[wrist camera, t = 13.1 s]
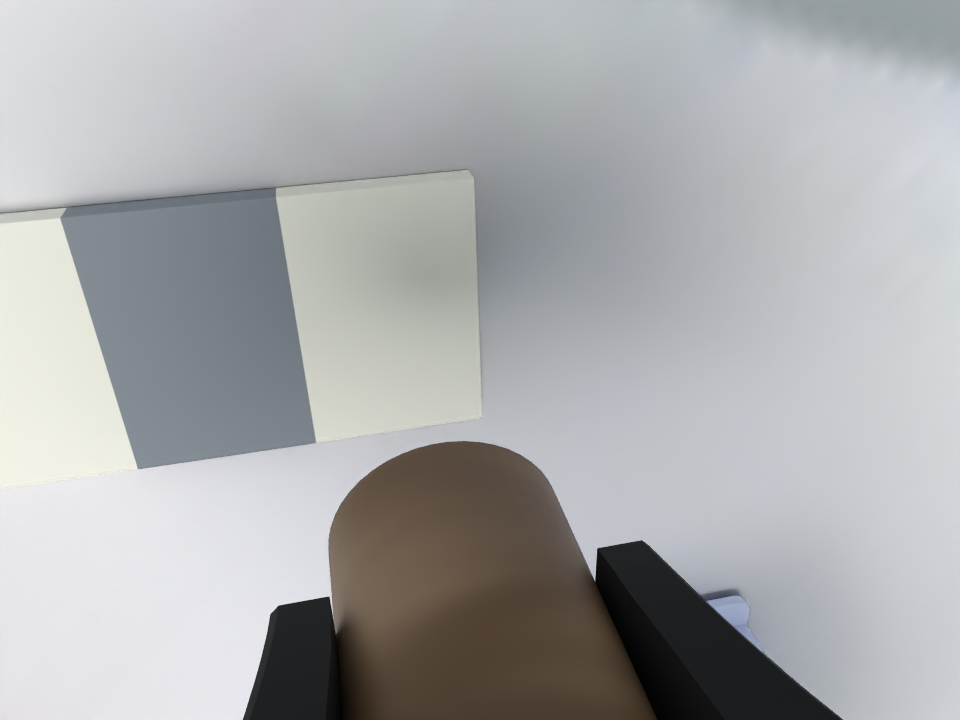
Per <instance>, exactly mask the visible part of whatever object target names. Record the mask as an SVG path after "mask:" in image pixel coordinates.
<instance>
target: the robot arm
mask: <svg viewBox="0 0 960 720" xmlns="http://www.w3.org/2000/svg"><path fill="white" fill-rule="evenodd" d="M595 583H596V585H597V587H598V589H599V592H600V594H601V596H602V598H603V601H604V603H605V605H606V607H607V609H608V612H609V614H610V616H611V618H612V620H613V623H614V625H615V627H616V629H617V631H618V634H619V636H620V638H621V640H622V642H623V645H624V647H625V649H626V651H627V653H628V656H629V658H630V660H631V662H632V664H633V667H634V669H635V671H636V673H637V675H638V678H639V680H640V682H641V684H642V687H643V689H644V691H645V693H646V695H647V698H648V700H649V702H650V704H651V706H652V709H653V711H654V713H655V715H656V717H657V720H843V719H841V718H840V717H839V716H838V715H837V714H835V713H834V712H833V711H832V710H830V709H829V708H828V707H827V706H825V705H824V704H823V703H822V702H820V701H819V700H818V699H817V698H815V697H814V696H813V695H812V694H810V693H809V692H808V691H807V690H806V689H804V688H803V687H802V686H801V685H800V684H799V683H797V682H796V681H795V680H794V679H793V678H791V677H790V676H789V675H788V674H787V673H785V672H784V671H783V670H782V669H781V668H780V667H779V666H778V665H776V664H775V663H774V662H773V661H772V660H771V659H770V658H768V657H767V655H766V654H765V652H764V651H763V649H762V648H761V646H760V644H759V643H758V641H757V640H756V638H755V637H754V635H753V634H752V632H751V630H750V629H749V627H748V626H747V622H748V617H749V612H750V608H749V606H748V604H747V603H746V601H745V600H744V599H743V597H740V596H729V597H724V598H719V599H714V600H709V601H706V600H705V599H703V598H702V597H701V596H700V595H699V594H698V593H697V592H696V591H695V590H694V589H693V588H692V587H691V586H690V585H689V584H688V583H687V582H686V581H685V580H684V579H683V578H682V577H681V576H680V575H679V574H677V573H676V572H675V571H674V570H673V569H672V568H671V567H670V566H669V565H668V564H667V563H666V562H665V561H664V560H663V559H662V558H661V557H660V556H659V555H658V554H657V553H656V552H655V551H654V550H653V549H652V548H651V547H650V546H649V545H647V544H646V543H645V542H644V541H642V540H641V541H636V542H630V543H625V544H619V545H613V546H608V547H602V548H597V564H596V580H595ZM243 720H342V707H341V693H340V680H339V668H338V655H337V642H336V632H335V626H334V621H333V615H332V609H331V604H330V598H329V597H324V598H319V599H313V600H307V601H302V602H296V603H291V604H285V605H280V606H278V607H277V608H276V609H275V610H274V611H273V612H272V613H271V615H270V620H269V626H268V632H267V636H266V641H265V645H264V649H263V653H262V657H261V661H260V665H259V668H258V672H257V676H256V679H255V683H254V686H253V689H252V692H251V695H250V699H249V702H248V705H247V708H246V712H245V715H244V718H243Z"/></svg>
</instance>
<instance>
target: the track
mask: <svg viewBox="0 0 960 720" xmlns="http://www.w3.org/2000/svg"><path fill="white" fill-rule="evenodd" d="M481 418H482V397H481V367H480V337H479V307H478V276H477V246H476V216H475V185H474V177H473V176H472V174H471V173H470V171H469V170H460V171H450V172H439V173H428V174H418V175H407V176H397V177H386V178H375V179H365V180H354V181H343V182H333V183H322V184H312V185H301V186H290V187H280V188H269V189H259V190H248V191H237V192H227V193H216V194H205V195H195V196H184V197H174V198H163V199H152V200H142V201H131V202H121V203H110V204H99V205H89V206H78V207H67V208H57V209H46V210H36V211H25V212H14V213H4V214H0V490H1V489H8V488H15V487H21V486H28V485H35V484H42V483H48V482H55V481H62V480H69V479H75V478H82V477H89V476H96V475H102V474H109V473H116V472H123V471H130V470H136V469H143V468H150V467H157V466H163V465H170V464H177V463H184V462H190V461H197V460H204V459H211V458H218V457H224V456H231V455H238V454H245V453H251V452H258V451H265V450H272V449H278V448H285V447H292V446H299V445H306V444H312V443H319V442H326V441H333V440H339V439H346V438H353V437H360V436H366V435H373V434H380V433H387V432H393V431H400V430H407V429H414V428H421V427H427V426H434V425H441V424H448V423H454V422H461V421H468V420H475V419H481Z"/></svg>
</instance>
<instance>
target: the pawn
mask: <svg viewBox="0 0 960 720" xmlns="http://www.w3.org/2000/svg"><path fill="white" fill-rule="evenodd" d="M329 564H330V577H331V590H332V603H333V616H334V626H335V632H336V642H337V655H338V668H339V680H340V693H341V707H342V720H657V717H656V715H655V713H654V711H653V709H652V706H651V704H650V702H649V700H648V698H647V695H646V693H645V691H644V689H643V687H642V684H641V682H640V680H639V678H638V675H637V673H636V671H635V669H634V667H633V664H632V662H631V660H630V658H629V656H628V653H627V651H626V649H625V647H624V645H623V642H622V640H621V638H620V636H619V634H618V631H617V629H616V627H615V625H614V623H613V620H612V618H611V616H610V614H609V612H608V609H607V607H606V605H605V603H604V601H603V598H602V596H601V594H600V592H599V589H598V587H597V585H596V583H595V581H594V578H593V576H592V574H591V572H590V570H589V567H588V565H587V563H586V561H585V559H584V556H583V554H582V552H581V550H580V548H579V545H578V543H577V541H576V539H575V537H574V534H573V532H572V530H571V528H570V526H569V523H568V521H567V519H566V517H565V515H564V512H563V510H562V508H561V506H560V503H559V501H558V499H557V497H556V495H555V492H554V490H553V488H552V486H551V485H550V483H549V481H548V479H547V478H546V477H545V475H544V474H543V473H542V472H541V470H540V469H538V468H537V467H536V466H535V465H534V464H533V463H532V462H530V461H529V460H527V459H526V458H524V457H523V456H521V455H519V454H517V453H515V452H513V451H511V450H509V449H506V448H503V447H499V446H496V445H492V444H487V443H481V442H468V441H459V442H445V443H439V444H432V445H428V446H424V447H421V448H417V449H414V450H411V451H409V452H406V453H403V454H401V455H399V456H397V457H395V458H393V459H391V460H389V461H387V462H385V463H383V464H382V465H380V466H379V467H377V468H376V469H374V470H373V471H371V472H370V473H369V474H368V475H367V476H365V477H364V478H363V479H362V480H360V481H359V482H358V484H357V485H356V486H355V487H354V488H353V489H352V490H351V491H350V492H349V493H348V495H347V496H346V498H345V499H344V500H343V502H342V503H341V505H340V507H339V509H338V511H337V512H336V514H335V517H334V519H333V522H332V525H331V529H330V534H329Z"/></svg>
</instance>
